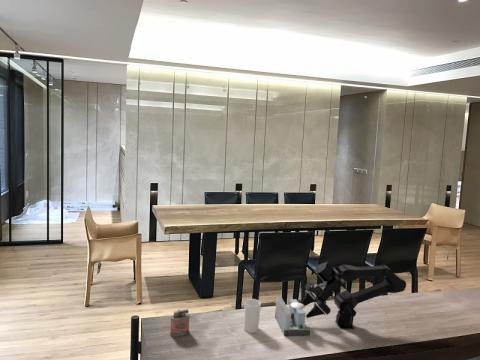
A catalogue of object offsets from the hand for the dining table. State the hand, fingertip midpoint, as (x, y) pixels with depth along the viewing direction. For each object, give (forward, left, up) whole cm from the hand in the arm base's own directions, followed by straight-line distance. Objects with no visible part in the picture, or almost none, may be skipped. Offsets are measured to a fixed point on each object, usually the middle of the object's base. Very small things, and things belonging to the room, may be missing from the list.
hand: (303, 312), depth 176 cm
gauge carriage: (+3, +1, -6) cm, 7 cm away
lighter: (+53, +4, -7) cm, 54 cm away
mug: (+23, 0, -7) cm, 24 cm away
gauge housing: (+5, 0, -6) cm, 8 cm away
